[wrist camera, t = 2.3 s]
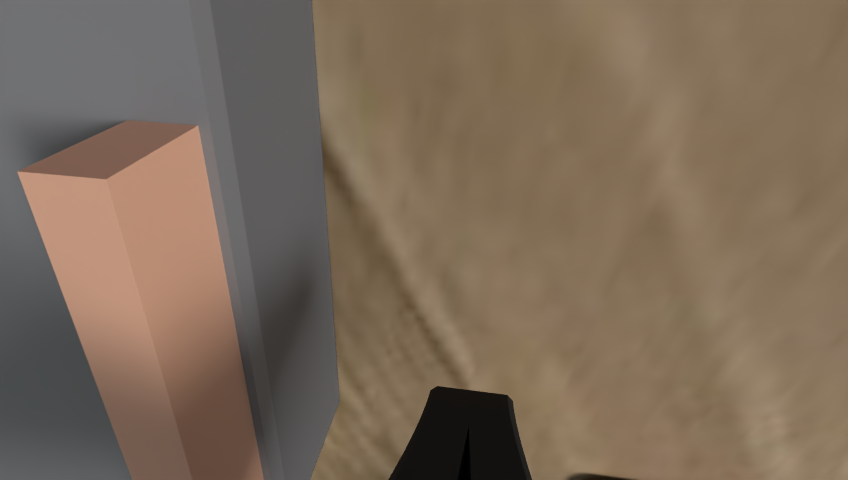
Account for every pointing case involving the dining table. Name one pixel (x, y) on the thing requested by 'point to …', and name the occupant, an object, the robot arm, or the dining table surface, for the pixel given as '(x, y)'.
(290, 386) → the box
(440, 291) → the dining table surface
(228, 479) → the mailer lid
